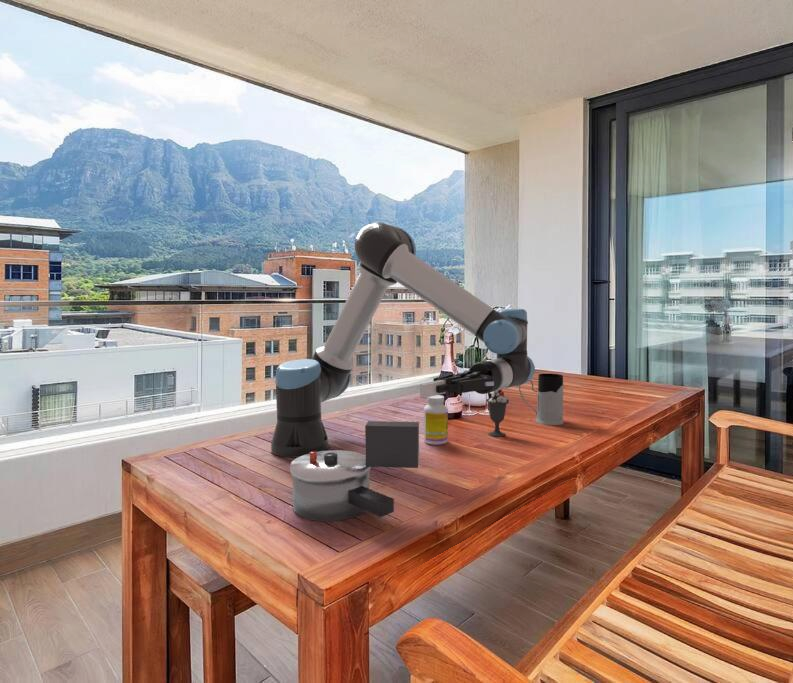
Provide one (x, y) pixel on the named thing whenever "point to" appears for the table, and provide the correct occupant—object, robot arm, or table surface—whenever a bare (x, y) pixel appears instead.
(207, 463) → the table surface
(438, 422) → the supplement bottle
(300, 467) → the lid
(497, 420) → the sundae
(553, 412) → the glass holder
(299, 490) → the pot
